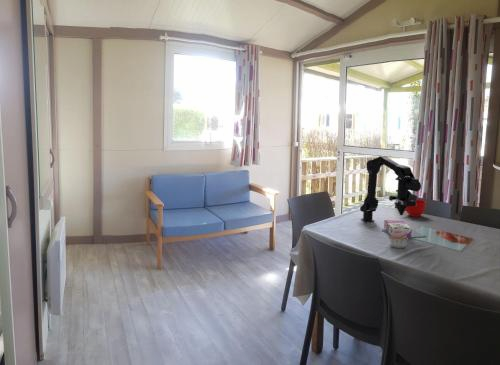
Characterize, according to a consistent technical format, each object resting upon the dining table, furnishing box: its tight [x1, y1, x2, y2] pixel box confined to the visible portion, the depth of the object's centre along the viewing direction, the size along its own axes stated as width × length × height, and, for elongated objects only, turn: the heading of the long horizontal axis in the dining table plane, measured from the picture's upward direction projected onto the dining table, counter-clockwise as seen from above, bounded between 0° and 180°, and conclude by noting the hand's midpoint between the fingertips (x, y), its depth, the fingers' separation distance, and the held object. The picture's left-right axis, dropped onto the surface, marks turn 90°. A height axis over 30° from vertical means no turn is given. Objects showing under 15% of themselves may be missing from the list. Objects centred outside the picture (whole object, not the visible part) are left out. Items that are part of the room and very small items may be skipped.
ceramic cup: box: [404, 199, 427, 218], centre depth 265 cm, size 13×17×10 cm
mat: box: [381, 229, 427, 239], centre depth 224 cm, size 16×18×1 cm
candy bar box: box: [383, 219, 413, 236], centre depth 225 cm, size 11×5×16 cm
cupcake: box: [388, 228, 409, 249], centre depth 201 cm, size 9×9×10 cm
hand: (401, 215), depth 226 cm, fingers closed
